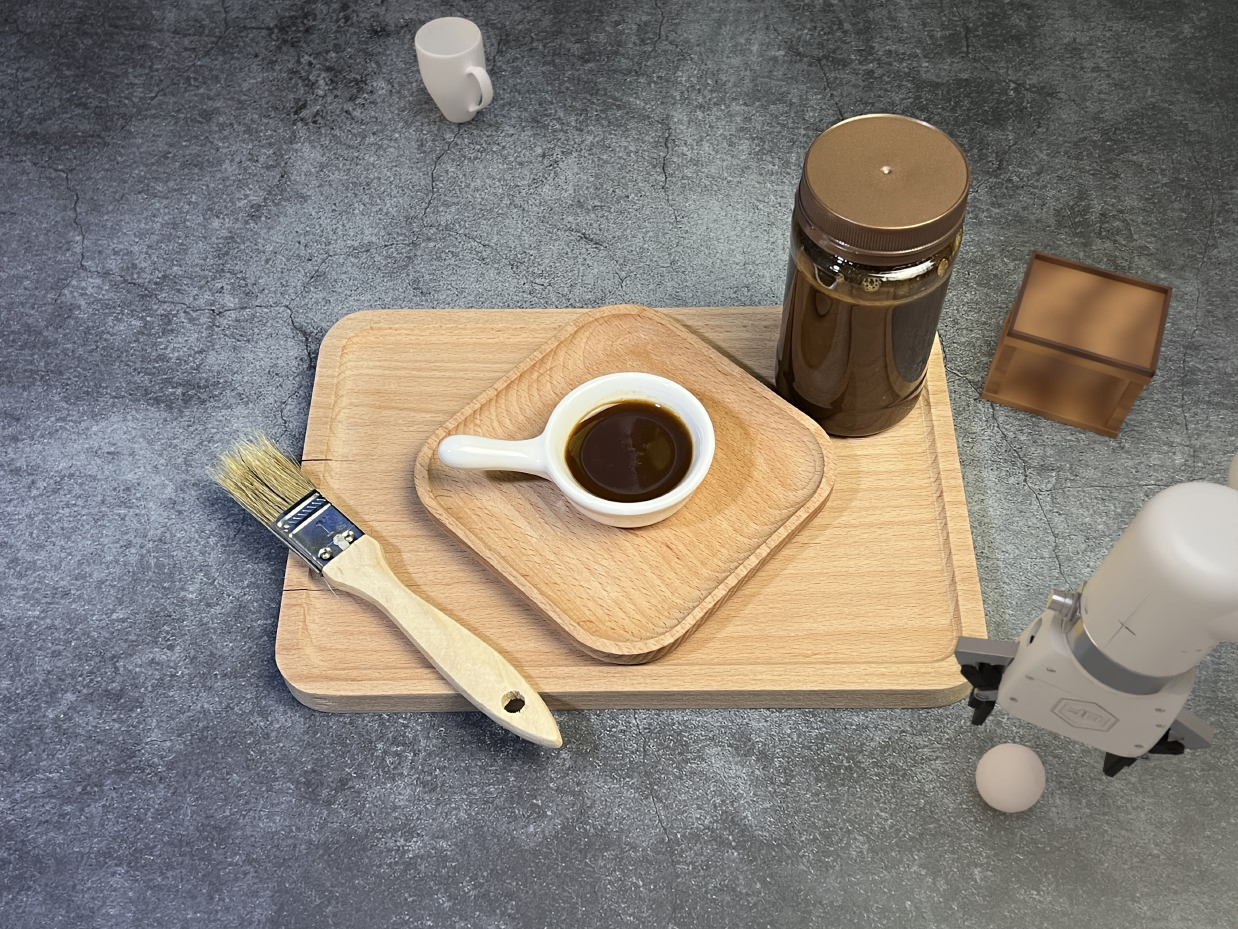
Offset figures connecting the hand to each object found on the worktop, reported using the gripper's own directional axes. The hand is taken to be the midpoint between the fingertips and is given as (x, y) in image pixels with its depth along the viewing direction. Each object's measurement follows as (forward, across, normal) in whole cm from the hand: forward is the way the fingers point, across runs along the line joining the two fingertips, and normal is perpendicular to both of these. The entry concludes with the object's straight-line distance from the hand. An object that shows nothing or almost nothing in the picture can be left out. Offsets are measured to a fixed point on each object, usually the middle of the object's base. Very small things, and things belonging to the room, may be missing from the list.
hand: (1043, 732), depth 82 cm
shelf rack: (+14, -3, +47) cm, 49 cm away
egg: (+14, 0, 0) cm, 14 cm away
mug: (+15, -82, +62) cm, 104 cm away
